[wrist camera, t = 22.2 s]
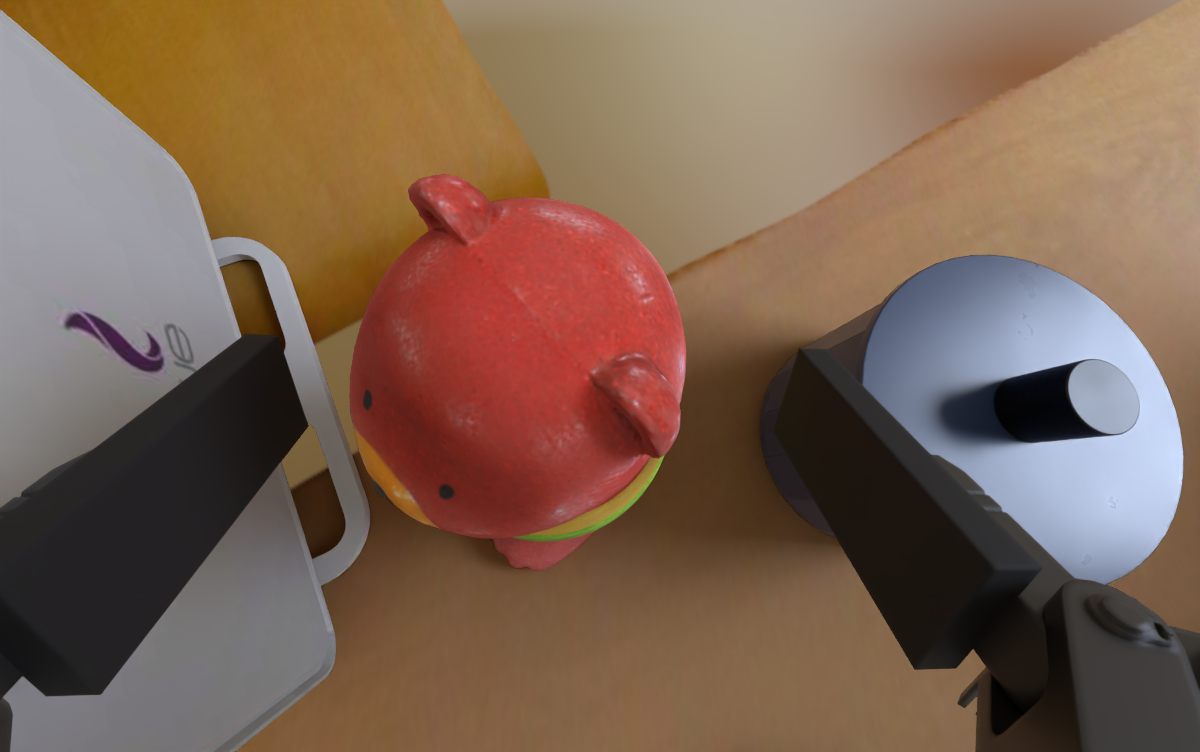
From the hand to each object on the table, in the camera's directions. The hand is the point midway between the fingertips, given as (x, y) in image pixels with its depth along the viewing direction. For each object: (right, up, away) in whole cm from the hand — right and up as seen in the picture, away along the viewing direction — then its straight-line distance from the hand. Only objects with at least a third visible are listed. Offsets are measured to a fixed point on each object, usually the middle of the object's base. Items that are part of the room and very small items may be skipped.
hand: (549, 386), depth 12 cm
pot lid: (+16, -1, +5) cm, 17 cm away
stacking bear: (-2, -3, +12) cm, 13 cm away
